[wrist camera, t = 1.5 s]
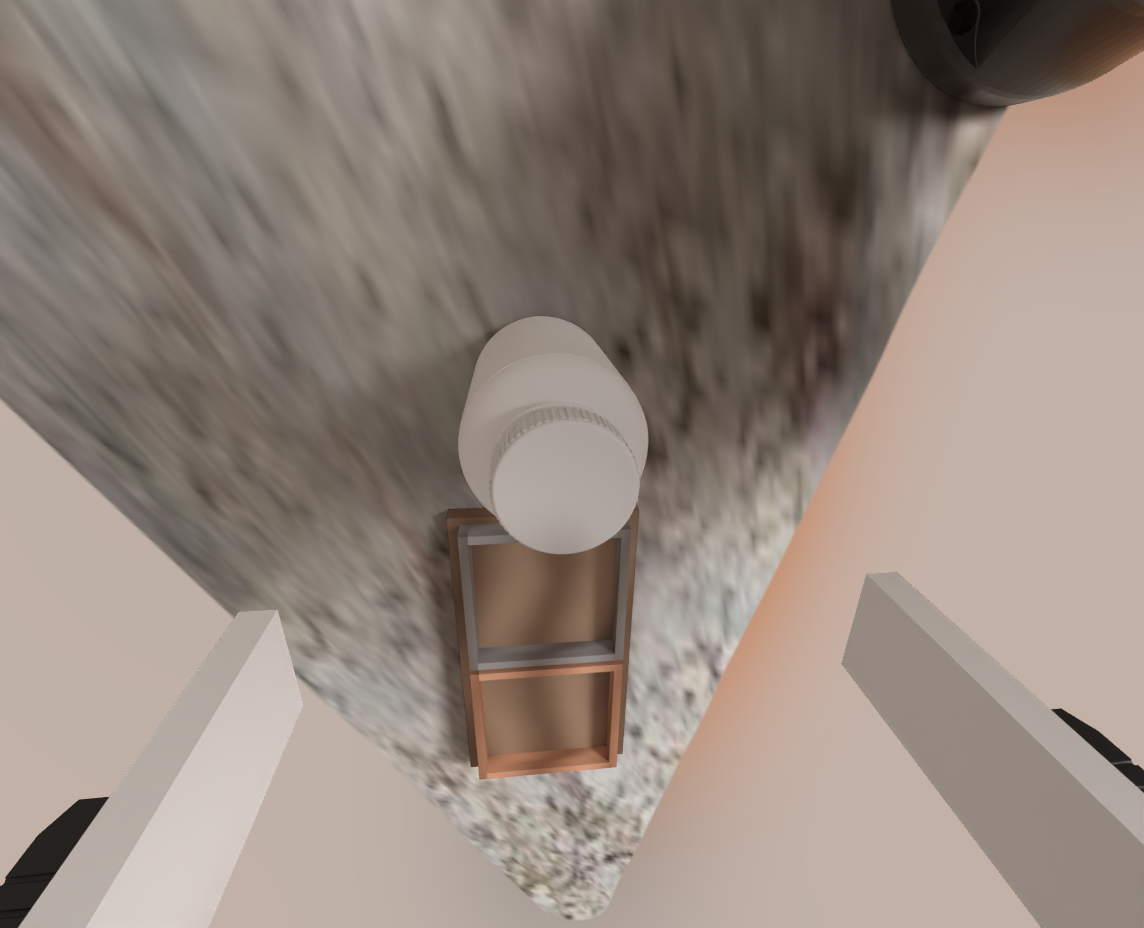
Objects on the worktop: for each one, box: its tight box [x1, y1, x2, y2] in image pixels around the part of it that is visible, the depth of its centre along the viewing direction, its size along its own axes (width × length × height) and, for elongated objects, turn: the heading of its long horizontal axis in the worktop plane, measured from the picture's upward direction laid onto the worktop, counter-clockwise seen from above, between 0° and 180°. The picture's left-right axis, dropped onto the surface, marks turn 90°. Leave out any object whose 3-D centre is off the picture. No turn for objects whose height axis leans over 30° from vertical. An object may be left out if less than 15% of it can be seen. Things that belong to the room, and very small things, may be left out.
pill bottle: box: [458, 316, 648, 554], centre depth 25 cm, size 8×8×15 cm
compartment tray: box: [446, 505, 639, 779], centre depth 39 cm, size 12×23×3 cm, turn 179°
